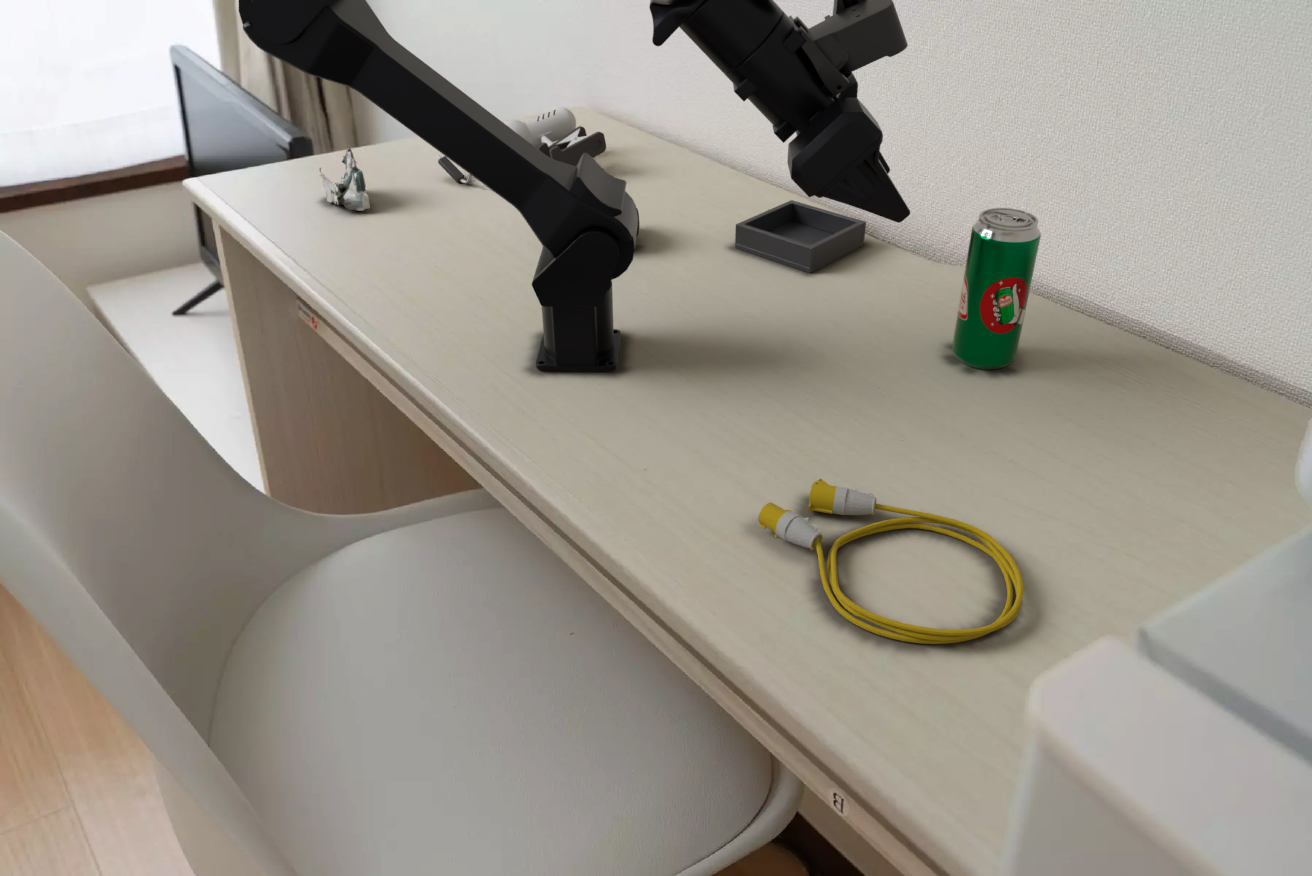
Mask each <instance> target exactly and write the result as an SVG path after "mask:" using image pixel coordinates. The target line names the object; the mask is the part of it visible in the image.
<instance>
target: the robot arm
mask: <svg viewBox="0 0 1312 876" xmlns="http://www.w3.org/2000/svg"><path fill="white" fill-rule="evenodd" d="M649 11H650V14H651V18H652V27H653V30H652V39H651V40H652V45H654V46H655V47H661V46H662V45H664V43H666V41H668V39H669V38H670V37H671V36H672V35H673V34H674V33H675V32H676V31H677V30H678V29H679V28H680V30H681V31H683V33H684V34H685V35H686V36H687V37H688V38H689V39H690V40H691V41H692V42H693V43H694V44H695V45H696V47H698V48H699V49H700V50H701V51H702V53H703V54H704V55H705V56H706V57H707V58H708V59H709V60H710V61H711V62H712V63H713V64H714V65H715V66H716V67H717V68H718V69H719V70H720V71H721V72H722V73H723V75H724V76H726V78H727V79H728V80H730V82H731V83H732V85H733V87H732V88H733V92H734V93H735V94H736V95H737V96H738V97H739V98H740V99H741V101H743V102H745V101H746V100H749V102H750V103H751V104H752V105H753V106H754V107H755V108H756V109H757V110H758V111H759V112H760V113H761V114H762V116H764V118H766V119H767V121H769V122H770V124H771V125H772V130H773V134H774V135H775V136H776V138H778V139H779V141H781V143H783V144H784V143H785V142H786V141H787V140H789V139H790V138H791V137H792V136H793V135H794V134H795V135H796V136H795V137H794V138H793V139H792V140H791V141H790V142H789V143H788V144H787V147H788V148H787V161H786V162H787V168H788V171H789V176H790V179H791V180H792V181H793V182H794V183H795V184H796V186H798V188H800V190H802V191H803V193H805V195H807V197H808V198H812V197H816V198H819V199H821V198H826V199H829V200H832V201H835V202H838V203H841V204H845V205H847V206H850V207H854V208H856V209H859V210H861V211H865V212H867V213H871V214H873V215H876V216H878V217H882V218H883V219H887V220H890V221H892V222H894V223H902V222H903V221H904V220H905V219H907V218H908V217H909V216H910V215H911V211H910V210H911V209H910V208H909V206H908V205H907V204H906V203H907V202H905V200H904V198H903V196H902V195H901V193H900V192H899V190H898V188H897V186H896V184H895V183H894V182H893V180H892V178H891V177H890V175H889V173H890V171H891V168H890V166H889V164H888V163H887V161H886V159H885V157H884V156H883V153H882V152H881V146H882V144H883V141H884V133H883V130H882V129H881V127H880V124H879V123H878V121H877V119H876V118H875V117H874V115H873V114H872V113H871V112H870V111H869V109H868V108H867V107H866V106H865V105H864V103H862V101H860V99H859V98H858V94H859V93H858V89H859V82H858V81H857V78H856V77H855V74H854V73H853V72H854V71H857V70H859V69H862V68H863V67H865V66H867V65H870V64H872V63H874V62H877V61H878V60H881V59H884V58H886V57H889V58H892V57H894V56H897V55H898V54H900V53H902V52H903V51H905V50H906V49H908V48H907V47H908V46H909V45H908V41H907V39H906V36H905V32H904V30H903V27H902V24H901V21H900V17H899V14H898V12H897V9H896V6H895V3H894V1H893V0H833V7H832V15H831V14H828V15H825V16H824V18H823V19H824V20H822V21H821V22H819V23H817V24H815V25H813V26H811V27H808V26H807V25H806V24H805V23H804V21H802V19H801V18H800V17H799V16H795V18H794V17H793V16H792V15H789V16H788V15H787V14H786V12H785V11H784V10H783V9H782V8H781V7H780V6H779V5H778V4H777V3H776V2H775V0H650V2H649ZM238 13H239V16H240V20H241V23H242V30H243V32H244V34H245V35H246V36H247V37H248V39H249V40H250V41H251V42H252V44H254V46H256V47H257V48H258V49H260V50H261V51H263V52H264V53H266V54H268V55H270V56H272V57H274V58H275V59H276V60H280V61H281V62H283V63H285V64H287V65H289V66H291V67H293V68H295V69H297V70H299V71H300V72H302V73H305V74H307V75H309V76H312V77H315V78H319V79H322V80H325V81H329V82H332V83H335V84H338V85H341V86H344V87H347V88H350V89H352V90H354V91H356V92H357V93H359V94H360V95H362V96H363V97H365V98H366V99H367V100H368V101H370V102H371V103H373V104H374V105H375V106H376V107H378V108H379V109H380V110H382V111H383V112H384V113H386V114H387V115H389V116H390V117H392V118H393V119H394V120H395V121H397V122H398V123H400V124H401V125H403V126H404V127H405V128H406V129H408V130H409V131H410V132H412V133H413V134H415V135H416V136H417V137H419V138H420V139H421V140H423V141H424V142H426V143H427V144H428V145H430V147H432V148H434V149H435V150H437V151H438V152H439V153H440V154H442V155H443V156H446V157H447V158H448V159H449V160H450V161H451V162H453V164H456V165H457V166H458V167H460V168H461V169H462V170H463V171H465V172H467V174H468V175H469V174H471V175H472V178H474V179H476V180H477V181H478V182H480V183H482V184H483V185H484V186H485V187H487V188H488V189H489V190H491V191H492V192H494V193H495V194H496V195H498V196H499V197H501V198H502V199H503V200H505V202H507V203H508V204H510V205H511V206H513V207H514V208H515V209H516V210H517V212H519V213H520V215H521V216H522V217H523V219H524V221H525V222H526V224H527V226H529V228H530V230H531V231H532V232H533V234H534V236H536V238H537V240H538V241H539V243H540V245H541V246H542V249H541V252H540V256H539V259H538V262H537V265H536V269H535V272H534V274H533V278H532V282H531V287H532V289H533V292H534V294H535V295H536V299H537V300H538V302H539V304H540V306H541V316H542V318H541V319H542V331H543V333H542V337H541V340H540V344H539V348H538V353H537V357H536V360H535V369H536V370H539V371H578V372H579V371H582V372H583V371H585V372H586V371H587V372H590V371H593V372H597V371H598V372H600V371H601V372H613V371H616V370H617V369H618V363H619V355H620V353H619V352H620V347H621V339H622V331H621V330H620V329H615V328H614V307H613V306H614V303H613V300H614V298H613V280H615V279H618V278H620V276H622V275H623V274H624V273H625V272H627V270H628V269H629V267H630V265H631V264H632V262H633V261H634V255H635V250H636V245H637V244H636V242H637V239H636V235H637V227H638V215H637V209H638V208H637V205H636V203H635V201H634V199H633V197H632V196H631V195H630V194H629V193H628V192H627V191H626V188H627V180H625V179H622V178H619V177H615V176H614V175H612V174H610V173H609V172H607V170H605V169H604V168H603V167H602V166H601V165H600V164H599V163H598V162H597V160H596V159H595V158H592V157H591V156H590V155H588V154H587V153H583V155H582V157H581V158H580V160H579V162H578V164H577V166H573V165H569V164H566V163H563V162H560V161H556V160H554V159H552V158H550V157H548V156H546V155H545V154H544V153H542V152H541V151H540V150H538V149H537V148H536V147H534V146H533V145H532V144H530V143H529V142H528V141H527V140H525V139H524V138H523V137H521V136H520V135H519V134H517V133H516V132H515V131H513V130H512V129H511V128H510V127H508V126H507V125H506V124H504V123H503V122H504V121H502V120H500V119H499V118H498V117H497V116H495V115H494V114H493V113H491V112H490V111H488V110H487V109H486V108H485V107H484V106H482V105H481V104H480V103H478V102H477V101H476V100H474V99H473V98H472V97H470V96H469V95H467V94H466V93H465V92H463V91H462V90H461V89H460V88H458V86H456V85H455V84H453V83H452V82H451V81H449V80H448V79H447V78H446V77H444V76H443V75H441V74H440V73H439V72H438V71H436V70H435V69H434V68H432V67H431V66H430V65H428V64H427V63H426V62H425V61H423V60H422V59H420V58H419V57H418V56H417V55H416V54H414V53H413V52H412V51H410V50H409V49H407V48H406V47H405V46H404V45H402V44H401V43H400V42H398V41H397V40H395V38H393V36H391V34H390V33H389V32H388V31H387V29H386V28H385V26H384V25H383V23H382V22H381V21H380V18H379V17H378V16H377V14H376V13H375V12H374V10H373V8H372V7H371V5H369V2H368V1H367V0H238ZM636 208H637V209H636Z"/></svg>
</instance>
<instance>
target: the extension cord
mask: <svg viewBox="0 0 1312 876" xmlns="http://www.w3.org/2000/svg"><path fill="white" fill-rule="evenodd" d="M807 509H808V513H811V512H812V511H813V512H819V513H824V514H831V515H833V514H835V515H841V516H866V515H867V516H868V515H871V516H874V515H875V513H876V510H878V511H879V510H880V511H884V512H890V513H896V514H901V515H906V516H908V517H898V518H890V519H885V520H881V521H876V522H874V523H871V524H868V525H865V526H862V527H859V528H856V529H854V530H852V531H849V532H847V533H845V534H843V535H841V536H839V537H838V538H837V539H836V540H835V541H834V542H833V544H832V546H831V547H830V549H829V551H828V555H827V562H826V563H827V565H826V564H825V558H824V550H823V548H822V545H821V544H822V542H823V539H824V538H823V534H822V532H821V527H820V526H818V525H816V524H814V523H811V522H809V519H810V518H809V517H803V516H801V515H799V514H798V513H796V512H794V511H792V510H790V509H784V508H783V507H781V506H779V505H777V504H775V503H774V502H770V501H769V502H767V503H766V504H765V505H763V507H762V508H761V509H760V511H759V513H758V517H757V519H758V520H757V521H758V523H759V524H758V526H759V527H761V528H763V529H764V530H765V529H769V530H771V531H772V532H773V534H774V535H773V536H774V537H775V538H776V539H778V537H779V538H780V539H782V540H784V541H786V542H787V543H788V542H789V543H791V544H794V545H797V546H799V547H803V548H807V549H810V550H811V551H815V550H816V554H817V560H818V568H819V576H820V579H821V583H822V587H823V589H824V591H825V594H826V596H827V597H828V600H829V602H830V604H831V605H832V606H833V608H834V609H835V610H836V611H837V612H838V613H839V615H841V616H842V617H843V618H845V619H846V620H847V621H849V622H850V623H852V624H854V625H856V626H857V627H859V628H862V629H864V630H866V631H868V632H870V633H873V634H876V635H877V636H882V637H886V638H888V639H892V640H896V641H902V642H909V643H915V644H916V643H917V644H924V645H925V644H927V645H940V644H954V643H961V642H967V641H970V640H975V639H978V638H981V637H983V636H985V635H988V634H990V633H993V632H995V631H998V630H1000V629H1002V628H1005V627H1006V626H1008V625H1009V624H1011V623H1012V622H1014V620H1015V619H1016V618H1017V617H1018V616H1019V613H1020V611H1021V610H1022V606H1023V599H1024V583H1023V577H1022V575H1021V571H1020V569H1019V566H1018V565H1017V563H1016V561H1015V559H1014V558H1013V557H1012V555H1011V554H1010V553H1009V551H1008V550H1007V549H1006V548H1005V547H1004V546H1003V545H1002V544H1001V543H1000V542H998V540H996V539H995V538H994V537H993V536H992V535H990V534H989V533H987V532H985V531H984V530H982V529H980V528H978V527H977V526H974V525H972V524H969V523H966V522H964V521H960V520H957V519H955V518H950V517H947V516H942V515H937V514H934V513H931V512H930V513H929V512H924V511H918V510H913V509H907V508H901V507H896V506H890V505H885V504H880V503H877V496H875V495H874V494H873V493H871V492H861V491H859V490H858V488H856V489H851V488H849V487H843V486H838V485H837V486H835V485H830V484H829V483H828V482H826V481H825V480H824V479H822V478H818V480H816V481H814V482H813V483H812V485H811V488H810V491H809V498H808V508H807ZM932 524H938V525H943V526H946V527H947V526H948V527H951V528H955V529H957V530H961V531H962V532H963V531H964V532H965V533H968V534H970V535H972V536H974V537H976V538H977V539H979V540H980V541H982V542H983V543H984V544H985V545H984V544H982V543H981V542H979V541H977V540H974V539H973V538H970V537H968V536H967V535H964V534H961V533H959V532H956V531H953V530H950V529H947V528H944V527H940V526H936V525H932ZM901 529H920V530H925V531H932V532H936V533H939V534H942V535H947V536H949V537H952V538H955V539H957V540H960V541H963V542H965V543H967V544H968V545H970V546H972V547H975V548H976V549H978V550H980V551H982V552H984V553H985V554H987V555H988V556H989V557H991V558H992V559H993V560H994V561H995V563H996V564H997V566H998V567H999V569H1000V570H1001V572H1002V575H1003V579H1004V581H1005V584H1006V585H1005V586H1006V595H1007V596H1006V602H1005V605H1004V608H1003V610H1002V612H1001V614H1000V615H999V617H998V618H997V619H996V620H995V621H994V622H993V623H991V624H989V625H985V626H981V627H973V628H966V629H948V628H947V629H945V628H933V627H927V626H920V625H914V624H909V623H905V622H902V621H897V620H894V619H890V618H888V617H885V616H883V615H879V614H877V613H874V612H872V611H869V610H868V609H865V608H863V607H862V606H860V605H858V604H857V603H855V602H853V601H852V600H851V599H850V598H849V597H847V596H846V595H845V594H844V593H843V592H842V590H841V589H840V588H841V587H840V586H839V579H838V578H839V577H838V568H837V553H838V549H839V548H841V547H843V546H844V545H846V544H848V543H849V542H852V541H854V540H856V539H859V538H862V537H863V538H864V537H867V536H869V535H873V534H878V533H882V532H888V531H892V530H893V531H894V530H901ZM826 569H827V572H826ZM1013 586H1014V589H1015V595H1016V597H1015V600H1014V603H1013V599H1014V589H1013ZM856 617H857V618H856ZM858 618H860V619H862V620H865V621H867V622H868V623H871V624H874V625H876V626H878V627H881V628H883V629H881V628H878V627H876V626H873V625H871V624H868V623H866V622H865V621H862V620H860V619H858ZM885 629H886V630H885Z"/></svg>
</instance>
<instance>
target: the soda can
mask: <svg viewBox="0 0 1312 876" xmlns="http://www.w3.org/2000/svg"><path fill="white" fill-rule="evenodd" d="M1038 225H1039V219H1038V217H1037V216H1035V215H1034V214H1032V213H1030V212H1028V211H1025V210H1022V209H1018V208H1010V207H993V208H992V207H991V208H987V209H985V210H982V211H981V212H979V215H978V220H977V221H976V222H975V223H974V224H973V225H972V226H971V231H970V238H969V242H968V243H969V244H968V250H967V256H966V262H965V268H964V273H963V280H962V285H961V291H960V296H959V297H960V298H959V304H958V309H957V316H956V321H955V327H954V334H953V340H952V345H951V349H952V352H953V354H954V356H955V357H956V359H958V360H959V361H960V362H961V363H963V364H964V365H966V366H968V367H972V368H975V369H979V370H999V369H1002V368H1005V367H1007V366H1009V365H1010V364H1011V363H1013V362H1014V360H1016V357H1017V354H1018V349H1019V344H1020V339H1021V335H1022V330H1023V324H1024V320H1025V316H1026V309H1027V306H1028V300H1029V295H1030V290H1031V287H1032V281H1033V276H1034V272H1035V268H1036V267H1035V266H1036V262H1037V257H1038V252H1039V248H1040V242H1041V238H1042V237H1041V236H1042V235H1041V231H1040V229H1039V226H1038Z"/></svg>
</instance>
